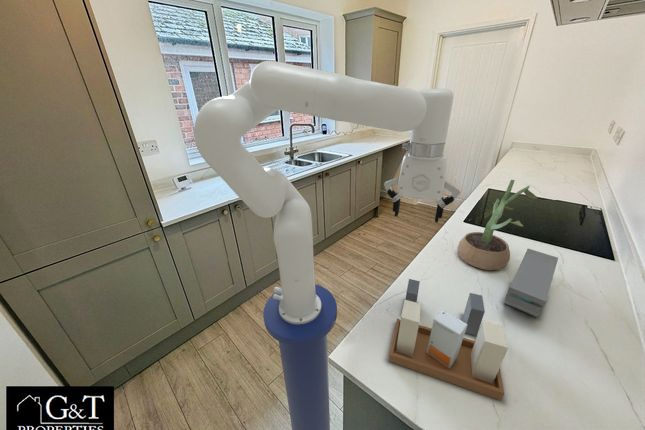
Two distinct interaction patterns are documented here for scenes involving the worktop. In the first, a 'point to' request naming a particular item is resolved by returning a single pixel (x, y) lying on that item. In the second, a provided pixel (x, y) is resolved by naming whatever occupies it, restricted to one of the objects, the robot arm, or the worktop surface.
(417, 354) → the tray
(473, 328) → the grey carton
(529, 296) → the grey rectangular box
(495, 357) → the cream box right
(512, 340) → the worktop surface
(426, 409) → the worktop surface
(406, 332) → the cream box left
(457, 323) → the cosmetic box
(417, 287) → the grey carton
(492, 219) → the potted plant
